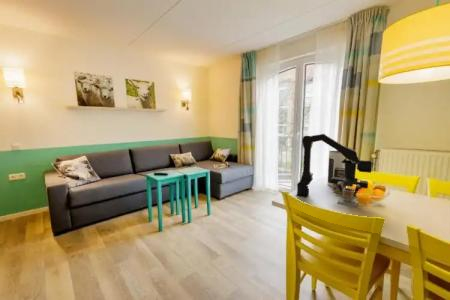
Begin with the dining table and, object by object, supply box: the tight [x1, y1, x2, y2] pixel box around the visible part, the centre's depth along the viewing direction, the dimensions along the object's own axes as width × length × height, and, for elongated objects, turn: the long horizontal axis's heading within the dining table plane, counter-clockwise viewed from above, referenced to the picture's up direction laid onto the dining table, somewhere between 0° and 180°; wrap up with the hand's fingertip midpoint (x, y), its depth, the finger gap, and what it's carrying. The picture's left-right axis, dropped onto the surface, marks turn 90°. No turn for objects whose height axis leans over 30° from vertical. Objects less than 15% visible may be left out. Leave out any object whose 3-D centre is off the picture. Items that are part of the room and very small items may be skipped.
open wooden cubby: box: [341, 187, 356, 200], centre depth 127 cm, size 6×6×6 cm
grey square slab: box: [337, 196, 359, 208], centre depth 128 cm, size 10×10×5 cm
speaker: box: [327, 150, 346, 188], centre depth 158 cm, size 11×10×26 cm
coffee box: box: [332, 167, 346, 194], centre depth 145 cm, size 9×6×16 cm
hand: (347, 196), depth 128 cm, fingers closed on open wooden cubby, 6 cm apart
